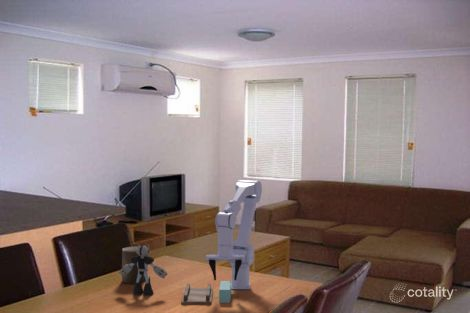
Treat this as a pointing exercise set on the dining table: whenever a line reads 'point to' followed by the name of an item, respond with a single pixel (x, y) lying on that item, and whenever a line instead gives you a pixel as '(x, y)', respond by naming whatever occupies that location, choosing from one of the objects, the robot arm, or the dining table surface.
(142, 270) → the robot
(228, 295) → the tall teal pillar block
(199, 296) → the cradle
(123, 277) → the pillar candle
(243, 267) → the robot arm
